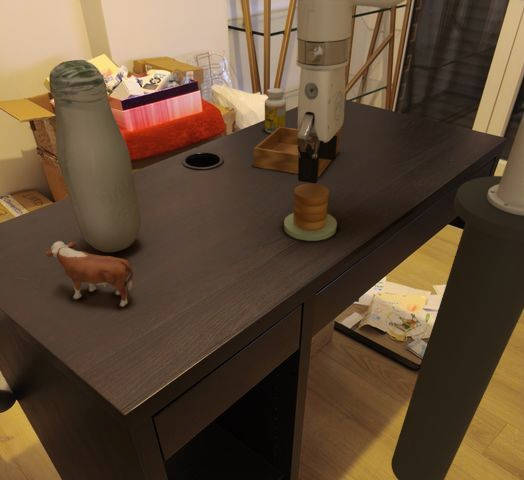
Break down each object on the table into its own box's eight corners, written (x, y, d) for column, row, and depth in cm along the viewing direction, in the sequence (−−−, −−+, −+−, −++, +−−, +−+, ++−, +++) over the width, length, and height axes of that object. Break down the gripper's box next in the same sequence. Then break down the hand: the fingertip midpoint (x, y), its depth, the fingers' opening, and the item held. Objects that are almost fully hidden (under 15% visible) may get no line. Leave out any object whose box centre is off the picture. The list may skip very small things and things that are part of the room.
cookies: (330, 218, 88) (333, 186, 83) (320, 233, 84) (322, 201, 79) (299, 212, 89) (301, 181, 85) (288, 226, 85) (289, 194, 81)
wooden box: (254, 166, 107) (253, 148, 105) (278, 143, 118) (279, 126, 115) (318, 177, 103) (319, 158, 100) (338, 152, 113) (340, 134, 110)
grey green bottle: (117, 268, 78) (68, 75, 59) (73, 250, 82) (14, 64, 63) (157, 241, 84) (125, 58, 65) (115, 226, 88) (73, 50, 69)
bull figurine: (69, 279, 75) (53, 233, 70) (144, 295, 72) (134, 248, 67) (51, 295, 72) (33, 248, 67) (129, 312, 69) (117, 264, 64)
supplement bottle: (289, 131, 124) (290, 90, 118) (273, 135, 122) (273, 94, 115) (276, 125, 127) (277, 85, 121) (260, 130, 125) (260, 89, 118)
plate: (342, 220, 89) (343, 215, 88) (327, 245, 83) (327, 240, 82) (294, 211, 92) (294, 206, 91) (275, 234, 85) (276, 229, 85)
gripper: (330, 68, 61) (323, 195, 73) (363, 40, 73) (353, 153, 85) (276, 65, 64) (277, 188, 75) (316, 38, 75) (312, 148, 87)
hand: (317, 169), depth 80 cm, fingers open, 9 cm apart
